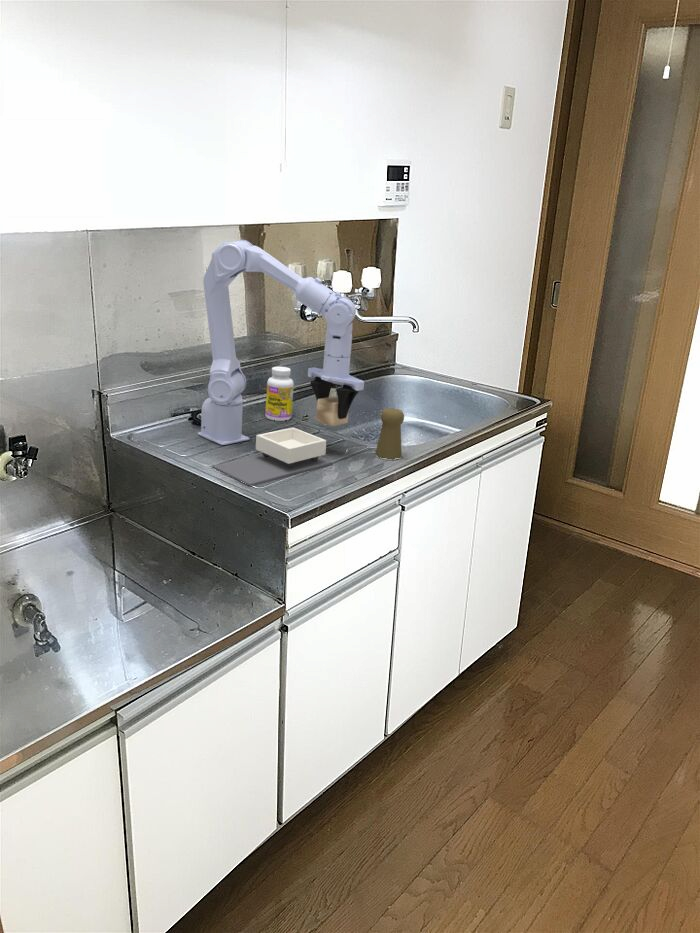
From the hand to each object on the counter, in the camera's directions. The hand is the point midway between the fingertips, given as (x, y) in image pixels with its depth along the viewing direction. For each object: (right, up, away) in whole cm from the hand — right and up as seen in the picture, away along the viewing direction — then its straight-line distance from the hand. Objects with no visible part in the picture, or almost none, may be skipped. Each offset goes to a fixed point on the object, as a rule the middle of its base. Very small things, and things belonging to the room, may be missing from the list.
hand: (332, 414), depth 173 cm
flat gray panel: (-12, -12, -8) cm, 19 cm away
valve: (-1, -1, +24) cm, 24 cm away
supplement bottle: (-14, +1, +25) cm, 29 cm away
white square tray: (-9, -11, -5) cm, 15 cm away
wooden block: (0, -2, +1) cm, 2 cm away
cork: (+13, -9, +4) cm, 16 cm away
